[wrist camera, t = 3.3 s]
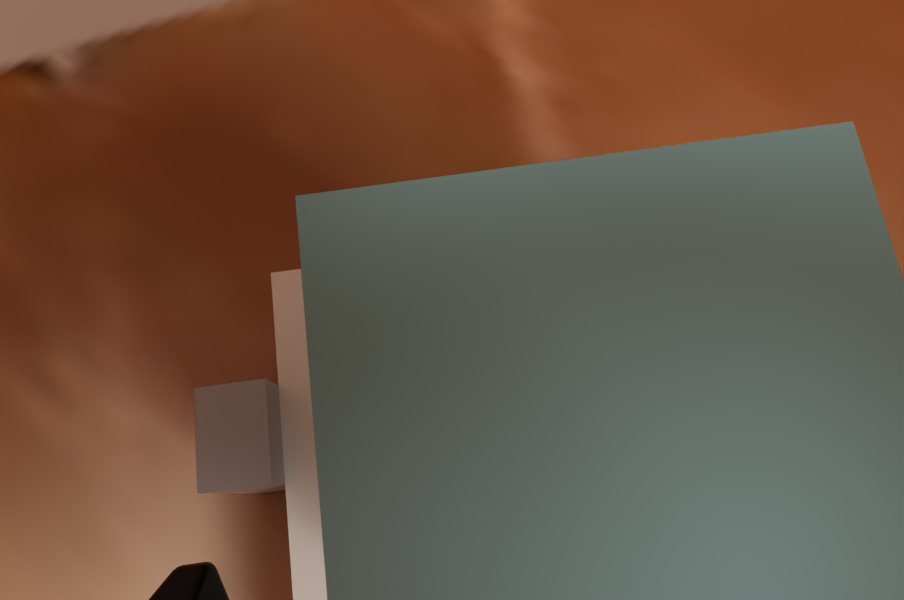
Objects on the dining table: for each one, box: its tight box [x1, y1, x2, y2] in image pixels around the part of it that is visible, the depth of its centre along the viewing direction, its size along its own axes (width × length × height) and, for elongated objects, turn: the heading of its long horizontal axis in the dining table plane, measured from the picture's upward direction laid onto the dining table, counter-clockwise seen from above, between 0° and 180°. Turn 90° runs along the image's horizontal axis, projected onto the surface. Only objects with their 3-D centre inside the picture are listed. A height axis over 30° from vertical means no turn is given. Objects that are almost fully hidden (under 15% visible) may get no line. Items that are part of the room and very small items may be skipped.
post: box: [295, 121, 904, 600], centre depth 11 cm, size 5×5×12 cm
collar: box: [194, 269, 327, 600], centre depth 15 cm, size 10×11×4 cm
